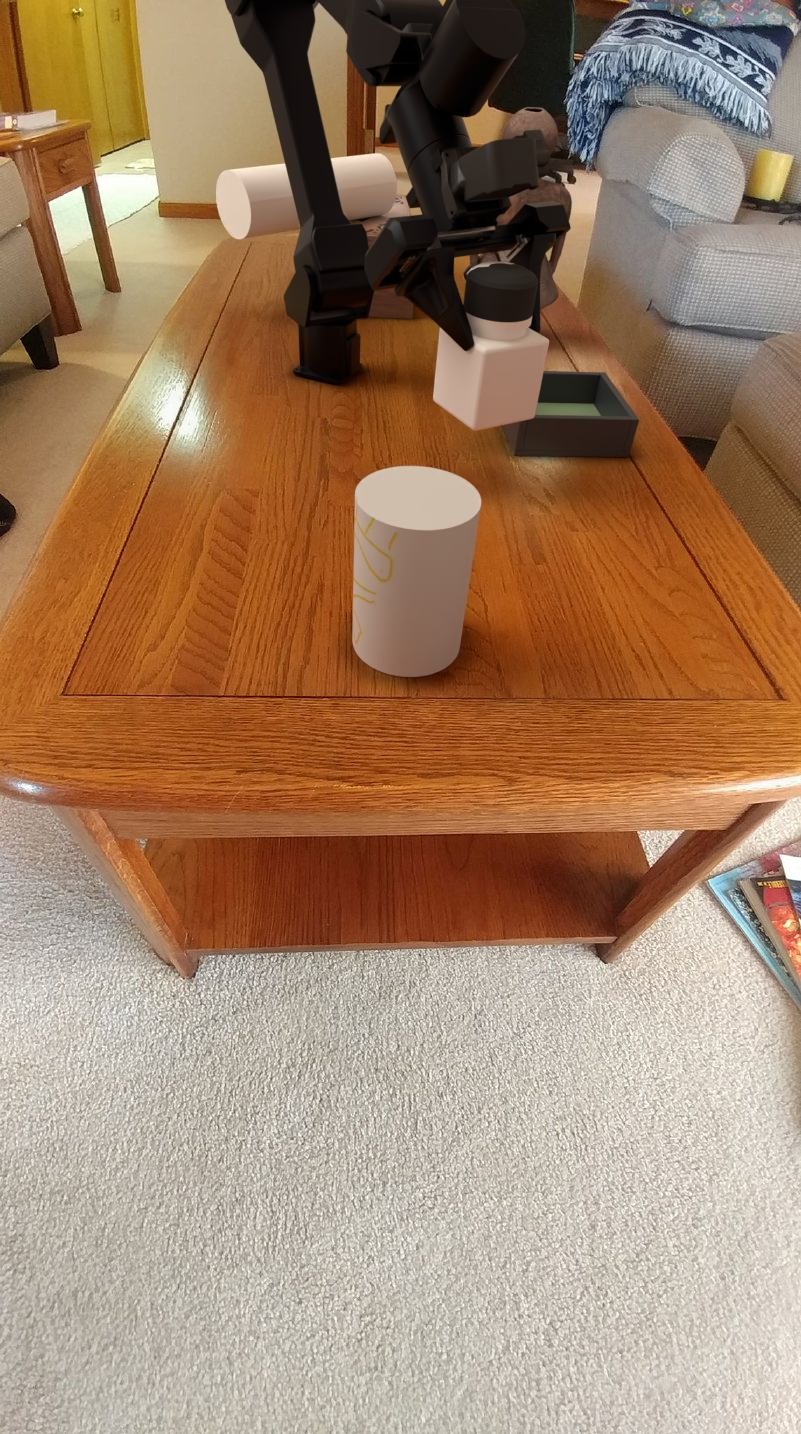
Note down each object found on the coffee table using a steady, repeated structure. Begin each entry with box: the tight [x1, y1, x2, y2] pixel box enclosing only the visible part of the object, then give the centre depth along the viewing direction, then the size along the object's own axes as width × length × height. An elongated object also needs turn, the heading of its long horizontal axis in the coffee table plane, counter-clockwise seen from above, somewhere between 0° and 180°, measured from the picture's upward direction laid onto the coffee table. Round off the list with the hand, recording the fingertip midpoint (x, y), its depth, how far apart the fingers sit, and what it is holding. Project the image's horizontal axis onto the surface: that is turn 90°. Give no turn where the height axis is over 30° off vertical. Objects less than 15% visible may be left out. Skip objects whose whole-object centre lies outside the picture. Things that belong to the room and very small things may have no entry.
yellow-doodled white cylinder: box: [351, 465, 482, 678], centre depth 53 cm, size 8×8×12 cm
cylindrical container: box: [215, 152, 398, 240], centre depth 99 cm, size 7×7×25 cm
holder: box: [501, 370, 640, 458], centre depth 83 cm, size 13×13×4 cm
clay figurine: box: [462, 106, 573, 311], centre depth 96 cm, size 13×10×25 cm
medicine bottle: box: [432, 261, 550, 432], centre depth 67 cm, size 7×7×12 cm
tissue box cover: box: [350, 193, 414, 320], centre depth 113 cm, size 26×14×10 cm, turn 3°
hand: (503, 341), depth 65 cm, fingers closed on medicine bottle, 7 cm apart
